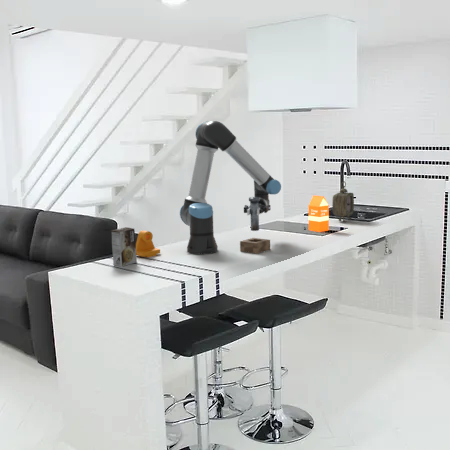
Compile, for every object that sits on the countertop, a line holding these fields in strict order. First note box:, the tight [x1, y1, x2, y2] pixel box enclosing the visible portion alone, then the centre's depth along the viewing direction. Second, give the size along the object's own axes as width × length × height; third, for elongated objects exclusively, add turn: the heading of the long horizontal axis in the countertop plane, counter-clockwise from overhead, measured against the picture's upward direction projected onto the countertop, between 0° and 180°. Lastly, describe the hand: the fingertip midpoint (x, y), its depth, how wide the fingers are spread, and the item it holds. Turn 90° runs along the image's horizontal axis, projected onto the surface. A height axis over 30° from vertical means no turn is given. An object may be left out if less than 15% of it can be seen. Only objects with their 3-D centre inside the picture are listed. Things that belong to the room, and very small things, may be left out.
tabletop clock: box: [332, 180, 355, 223], centre depth 364 cm, size 14×9×25 cm, turn 148°
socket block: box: [239, 237, 271, 255], centre depth 286 cm, size 10×10×5 cm
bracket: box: [135, 229, 161, 258], centre depth 283 cm, size 11×7×12 cm, turn 132°
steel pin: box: [248, 196, 260, 232], centre depth 284 cm, size 5×5×16 cm
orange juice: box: [307, 194, 330, 233], centre depth 335 cm, size 8×9×20 cm
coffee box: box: [110, 227, 138, 267], centre depth 266 cm, size 9×6×16 cm
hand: (252, 212), depth 278 cm, fingers closed on steel pin, 4 cm apart
